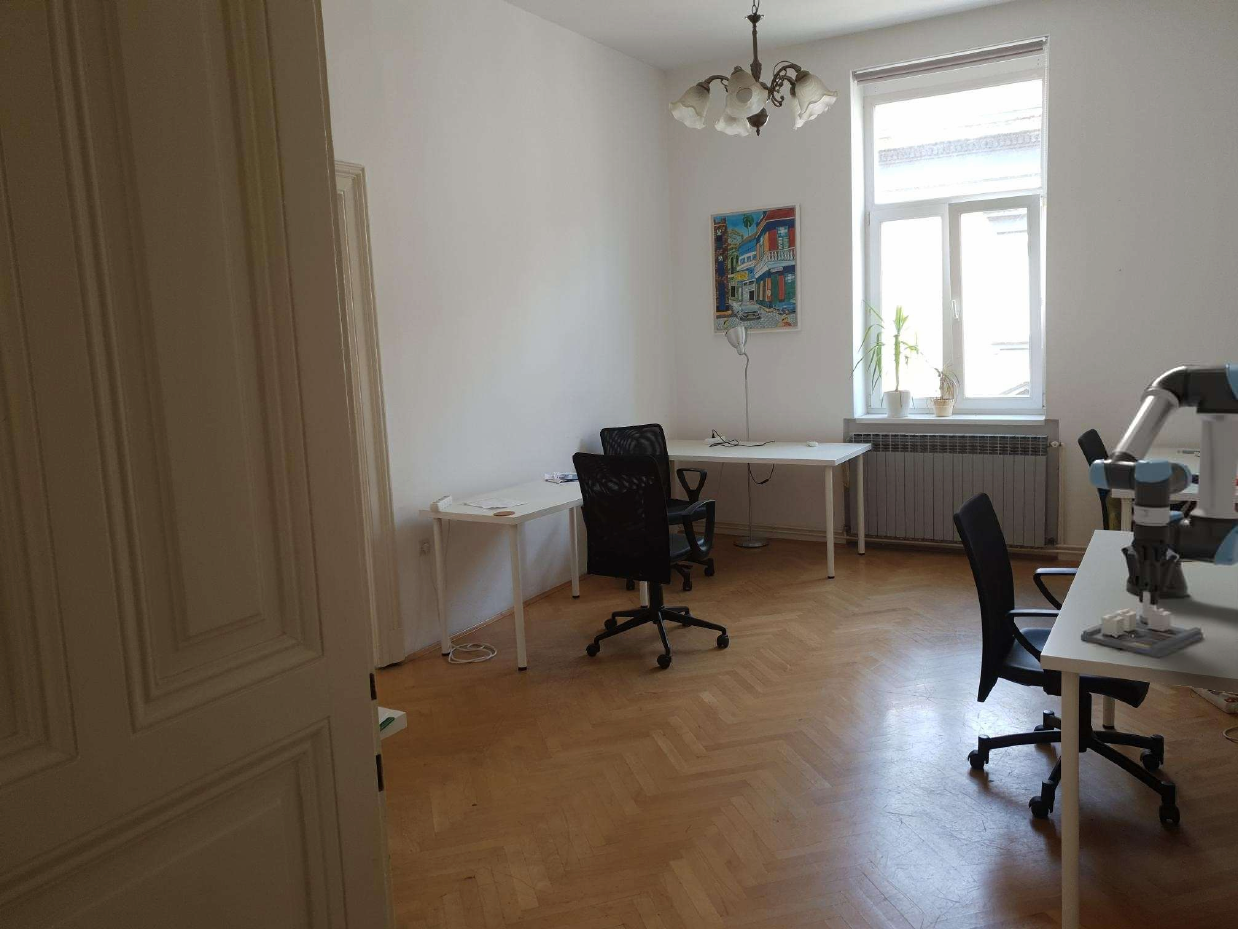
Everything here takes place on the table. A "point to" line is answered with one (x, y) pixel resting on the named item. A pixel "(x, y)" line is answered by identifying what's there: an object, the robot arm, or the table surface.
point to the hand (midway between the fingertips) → (1148, 616)
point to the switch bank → (1146, 639)
